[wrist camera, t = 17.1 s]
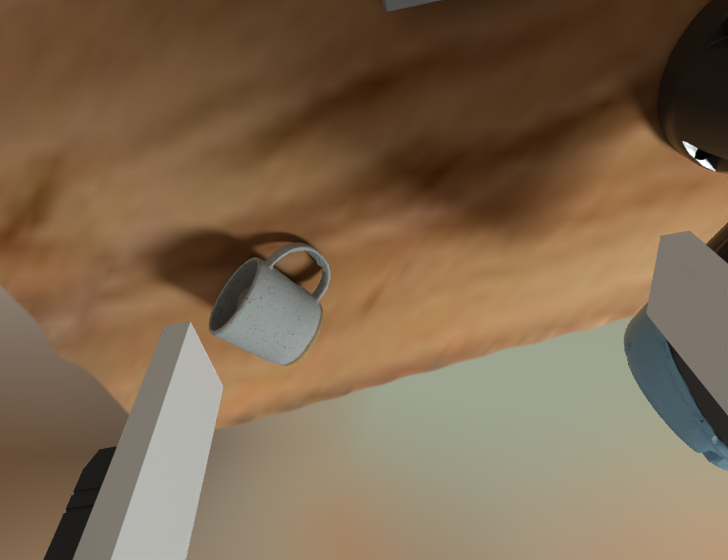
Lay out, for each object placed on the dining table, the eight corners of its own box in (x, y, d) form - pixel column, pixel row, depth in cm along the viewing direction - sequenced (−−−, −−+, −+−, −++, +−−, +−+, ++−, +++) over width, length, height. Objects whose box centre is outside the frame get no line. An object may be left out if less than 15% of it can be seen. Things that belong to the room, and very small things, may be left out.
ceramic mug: (283, 333, 53) (278, 389, 46) (214, 293, 49) (199, 348, 43) (350, 266, 48) (355, 318, 42) (280, 218, 45) (274, 265, 39)
